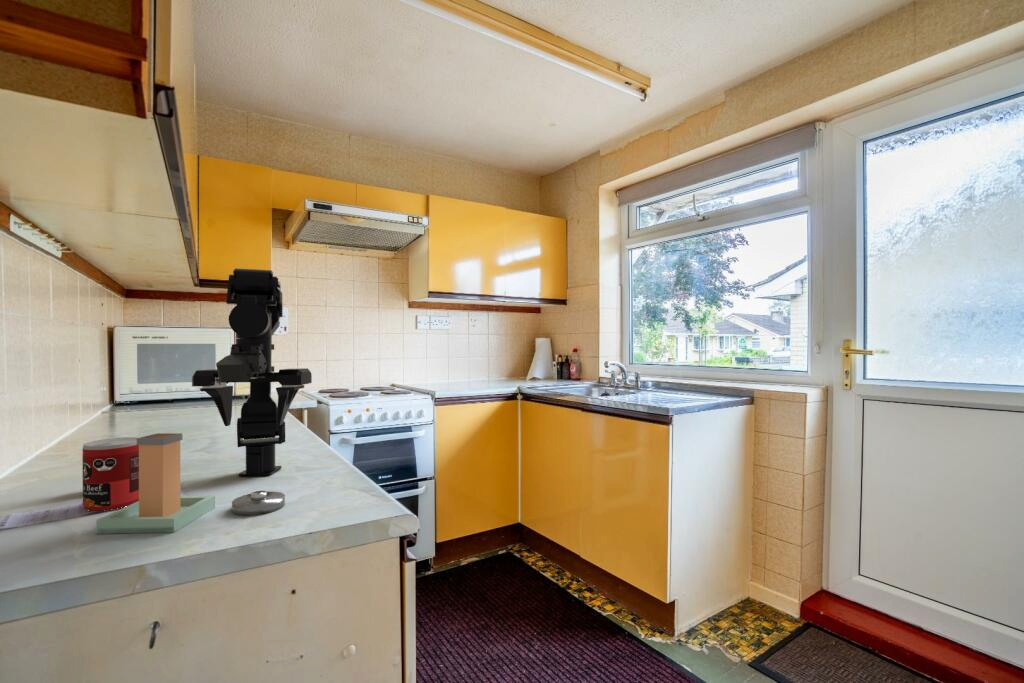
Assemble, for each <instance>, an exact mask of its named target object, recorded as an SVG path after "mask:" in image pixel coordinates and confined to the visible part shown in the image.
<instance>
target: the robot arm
mask: <svg viewBox="0 0 1024 683" xmlns="http://www.w3.org/2000/svg"><path fill="white" fill-rule="evenodd" d="M281 286H282V285H281V282H280V281H279V277H277V276H274V271H273V270H271V269H254V268H253V269H252V268H250V269H249V268H234V269H233V271H232V274H229V275H228V283H227V292H226V299H225V300H226V305H233V306H234V305H235V306H234V307H233V308H232V309H231V310H230V312H229V315H228V324H229V326H230V328H231V330H232V331H233V332H234V333H235V343H234V344H233V343H232V344H231V347H230V354H229V355H226V356H225V357H223V358H222V359H220V360H219V361H217V362H216V363H215V365H216V369H215V368H214V369H213V368H212V369H210V368H209V369H198V370H195V371H194V373H193V375H192V376H191V387H201V388H199V390H200V392H204V393H206V394H207V395H208V396H210V398H212V400H213V402H214V404H215V406H216V407H217V410H218V413H219V416H220V417H221V420H222V422H223V424H224V426H225V427H230V426H231V423H232V415H233V396H234V394H233V393H234V385H227V384H229V383H249V396H248V399H247V400H246V401H245V402H243V404H242V406H241V408H240V417H237V420H236V440H237V448H243V447H245V470H243V471H241V472H239V473H238V474H237V476H238V477H254V476H255V477H256V476H257V477H258V476H259V477H260V476H261V477H262V476H271V475H273V474H274V473H276V472H278V471H279V470H280V469H282V465H276V445H282V444H283V443H286V422H285V418H286V416H287V414H288V412H289V409H290V406H291V405H292V403H293V401H294V398H295V397H296V395H297V393H298V392H299V390H300V389H304V388H305V385H309V384H312V383H313V382H312V379H313V378H312V377H313V376H312V375H313V374H312V372H311V370H310V369H309V368H284V369H283V368H282V369H279V370H278V371H277V372H276V371H275V366H273V365H272V351H275V344H273V343H272V342H273V341H272V339H273V335H274V334H275V333H276V331H277V330H278V329H279V327H280V318H283V314H284V313H283V307H284V306H283V292H282V291H281V288H282V287H281ZM272 383H279V385H281V386H278V387H275V390H276V393H277V404H276V402H275V400H274V399H273V397H272Z"/></svg>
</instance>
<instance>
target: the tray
mask: <svg viewBox="0 0 1024 683" xmlns="http://www.w3.org/2000/svg"><path fill="white" fill-rule="evenodd" d="M214 508H216V495H182V496H181V495H180V511H179V512H177V513H175V514H173V515H171V516H169V517H139V501H138V502H136V503H133V504H131V505H129V506H127V507H125V508H121V509H117V510H115V511H114V512H112V513H110V514H109V513H108V514H107V515H105V516H103V517H101V518H99V519H97V520H96V535H105V534H106V535H108V534H109V535H113V533H114V534H117V533H119V534H147V533H148V534H156V533H157V534H158V533H159V534H160V533H175V532H177V531H179V530H180V529H182V528H184V527H185V526H187V525H188V524H190V523H192V522H194V521H195V520H197V519H199V518H201V517H202V516H203V515H205V514H207V513H208V512H210V511H211V510H214Z"/></svg>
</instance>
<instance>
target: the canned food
mask: <svg viewBox="0 0 1024 683" xmlns="http://www.w3.org/2000/svg"><path fill="white" fill-rule="evenodd" d="M137 438H138V437H137V436H136V437H134V436H133V437H132V436H131V437H130V436H129V437H128V436H127V437H125V436H124V437H113V438H102V439H98V440H92V441H88V442H85V443H84V444H82V458H81V459H82V506H83V510H85V509H86V510H89V511H88V512H90V511H102V512H107V511H106V510H110V511H112V510H111V509H116V510H118V509H117V508H121V507H125V506H129V505H131V504H133V503H136V502H138V501H139V445H137ZM121 509H122V508H121ZM86 510H85V511H86ZM104 510H105V511H104Z"/></svg>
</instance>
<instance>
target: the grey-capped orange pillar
mask: <svg viewBox="0 0 1024 683" xmlns="http://www.w3.org/2000/svg"><path fill="white" fill-rule="evenodd" d="M182 440H183V433H182V432H181V433H165V432H164V433H163V432H161V433H160V432H159V433H158V432H157V433H153V434H148V435H145V436H141V437H137V445H139V517H169V516H171V515H173V514H175V513H177V512H179V511H180V496H181V441H182Z"/></svg>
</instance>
